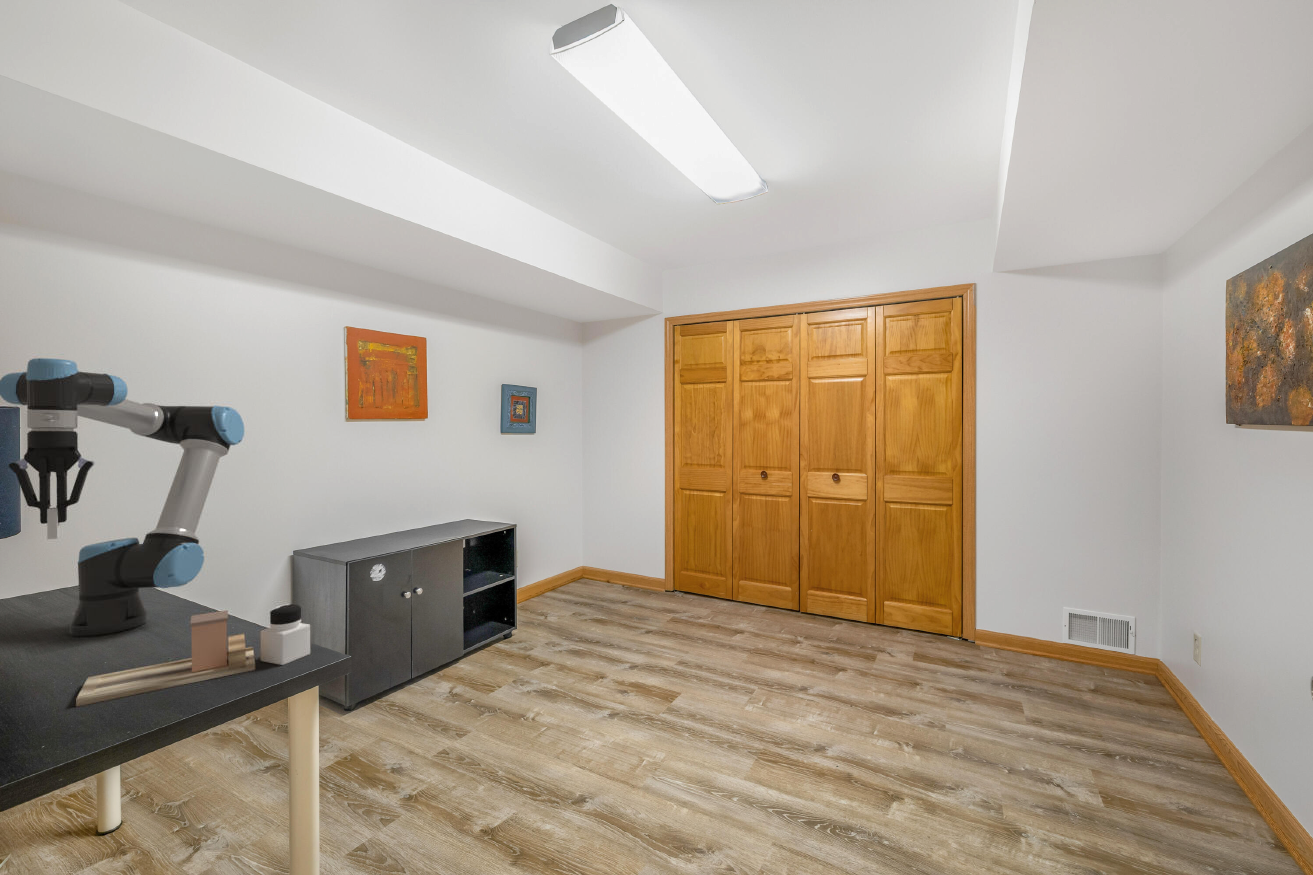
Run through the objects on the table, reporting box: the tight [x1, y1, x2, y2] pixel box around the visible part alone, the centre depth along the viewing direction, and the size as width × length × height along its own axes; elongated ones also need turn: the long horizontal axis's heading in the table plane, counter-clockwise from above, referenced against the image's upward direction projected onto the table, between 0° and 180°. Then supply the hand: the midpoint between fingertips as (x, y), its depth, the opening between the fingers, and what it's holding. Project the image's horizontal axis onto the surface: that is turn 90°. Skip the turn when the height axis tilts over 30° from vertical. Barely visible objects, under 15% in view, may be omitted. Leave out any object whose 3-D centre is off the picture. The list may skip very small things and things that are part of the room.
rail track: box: [75, 633, 256, 707], centre depth 122 cm, size 12×28×5 cm, turn 127°
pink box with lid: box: [189, 610, 229, 672], centre depth 125 cm, size 6×6×11 cm
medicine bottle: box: [260, 603, 311, 666], centre depth 132 cm, size 7×7×12 cm
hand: (53, 537), depth 124 cm, fingers closed
